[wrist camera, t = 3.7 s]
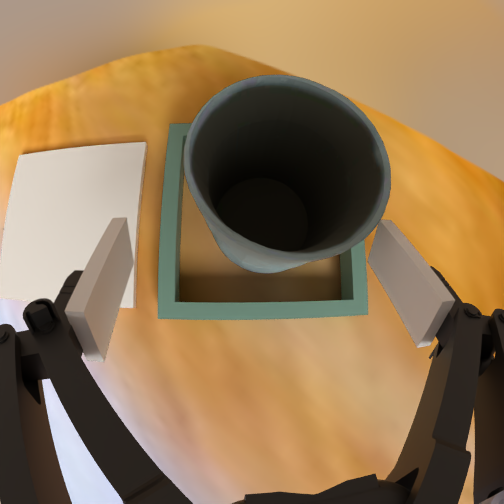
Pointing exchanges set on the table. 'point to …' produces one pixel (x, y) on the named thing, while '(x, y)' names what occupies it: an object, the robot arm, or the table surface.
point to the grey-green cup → (285, 172)
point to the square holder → (173, 309)
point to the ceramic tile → (68, 215)
